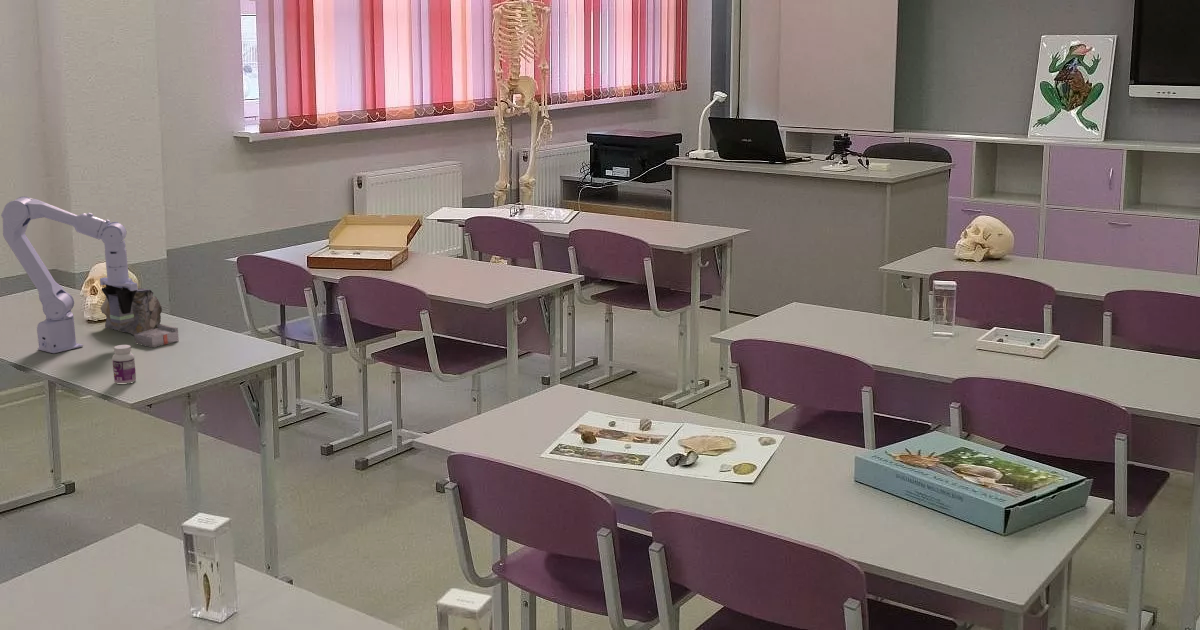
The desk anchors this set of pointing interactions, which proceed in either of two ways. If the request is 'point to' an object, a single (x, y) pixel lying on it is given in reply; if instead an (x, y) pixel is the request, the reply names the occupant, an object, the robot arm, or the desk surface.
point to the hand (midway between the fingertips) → (121, 312)
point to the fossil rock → (137, 313)
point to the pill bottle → (123, 364)
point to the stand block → (157, 336)
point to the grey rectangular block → (118, 310)
